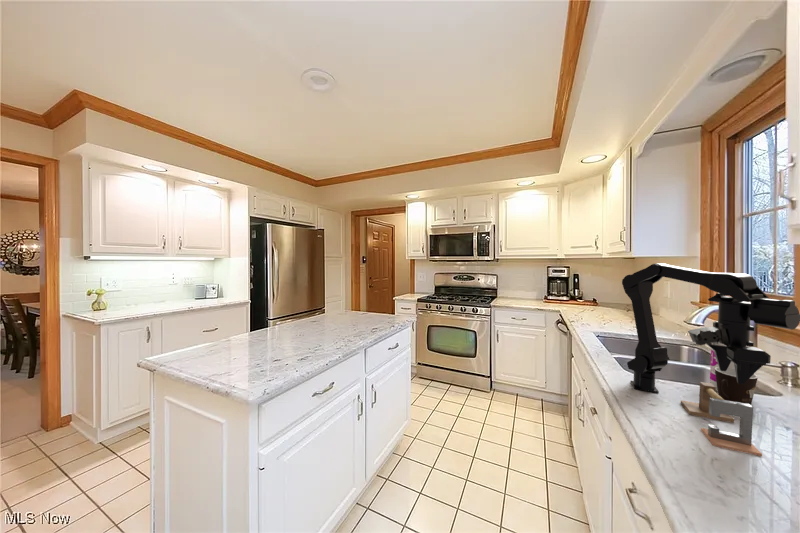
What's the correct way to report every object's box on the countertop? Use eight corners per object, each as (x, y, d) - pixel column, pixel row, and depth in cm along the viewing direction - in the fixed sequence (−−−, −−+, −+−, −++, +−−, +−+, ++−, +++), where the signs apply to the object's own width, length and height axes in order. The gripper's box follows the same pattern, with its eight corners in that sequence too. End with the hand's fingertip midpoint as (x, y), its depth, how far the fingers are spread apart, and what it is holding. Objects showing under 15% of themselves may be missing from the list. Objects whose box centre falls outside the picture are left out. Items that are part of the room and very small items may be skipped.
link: (707, 433, 74) (709, 397, 74) (747, 442, 71) (749, 404, 70) (710, 437, 73) (712, 400, 72) (751, 445, 69) (753, 407, 69)
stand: (680, 403, 90) (681, 376, 90) (721, 410, 86) (722, 382, 85) (703, 431, 76) (705, 399, 75) (754, 442, 71) (755, 408, 71)
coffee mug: (734, 397, 93) (736, 367, 92) (766, 412, 84) (767, 379, 84) (695, 396, 94) (696, 366, 94) (721, 411, 85) (723, 377, 85)
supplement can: (716, 393, 96) (718, 348, 95) (704, 383, 103) (706, 341, 103) (752, 398, 92) (754, 352, 92) (737, 388, 100) (739, 345, 99)
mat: (700, 429, 77) (701, 427, 77) (744, 438, 73) (744, 436, 73) (713, 445, 70) (713, 443, 70) (761, 456, 67) (762, 453, 67)
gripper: (680, 311, 90) (679, 360, 91) (708, 324, 74) (705, 384, 74) (731, 314, 85) (729, 367, 85) (773, 329, 68) (770, 394, 69)
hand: (731, 376), depth 79 cm, fingers open, 9 cm apart
